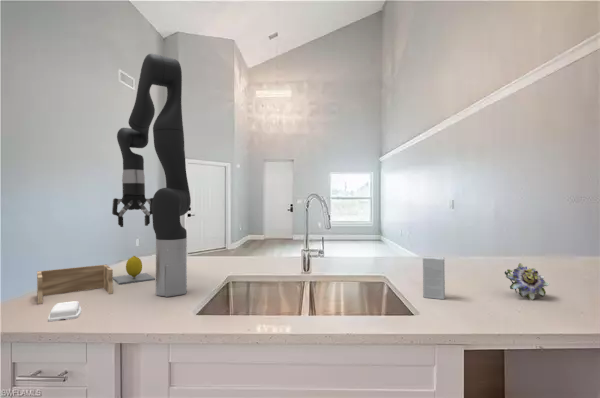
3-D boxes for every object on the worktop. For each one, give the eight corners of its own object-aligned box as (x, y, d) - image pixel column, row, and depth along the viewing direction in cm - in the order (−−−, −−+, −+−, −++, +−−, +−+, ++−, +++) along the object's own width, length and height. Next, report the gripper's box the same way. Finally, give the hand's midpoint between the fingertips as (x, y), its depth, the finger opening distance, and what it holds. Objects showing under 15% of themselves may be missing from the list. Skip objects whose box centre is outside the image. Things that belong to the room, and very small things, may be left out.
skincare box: (444, 296, 110) (445, 257, 110) (444, 299, 106) (444, 259, 106) (424, 294, 113) (424, 255, 113) (422, 297, 109) (422, 257, 109)
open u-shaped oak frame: (112, 293, 114) (112, 269, 114) (38, 304, 102) (38, 277, 102) (106, 286, 122) (106, 264, 122) (37, 295, 111) (37, 271, 111)
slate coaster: (155, 279, 133) (155, 278, 133) (119, 284, 125) (119, 282, 125) (146, 274, 142) (146, 272, 142) (112, 278, 135) (112, 276, 135)
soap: (78, 319, 90) (78, 308, 90) (46, 323, 87) (45, 311, 87) (82, 309, 98) (82, 298, 98) (52, 313, 95) (52, 302, 95)
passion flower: (531, 317, 107) (514, 287, 104) (506, 300, 118) (490, 272, 115) (562, 296, 107) (546, 265, 104) (534, 281, 118) (519, 252, 115)
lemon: (145, 276, 136) (145, 254, 136) (137, 279, 131) (137, 257, 131) (131, 275, 137) (131, 254, 137) (122, 278, 131) (122, 256, 131)
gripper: (114, 181, 127) (115, 228, 127) (156, 182, 135) (157, 225, 135) (110, 182, 133) (111, 226, 133) (151, 183, 141) (151, 224, 141)
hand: (134, 226), depth 134 cm, fingers open, 8 cm apart
